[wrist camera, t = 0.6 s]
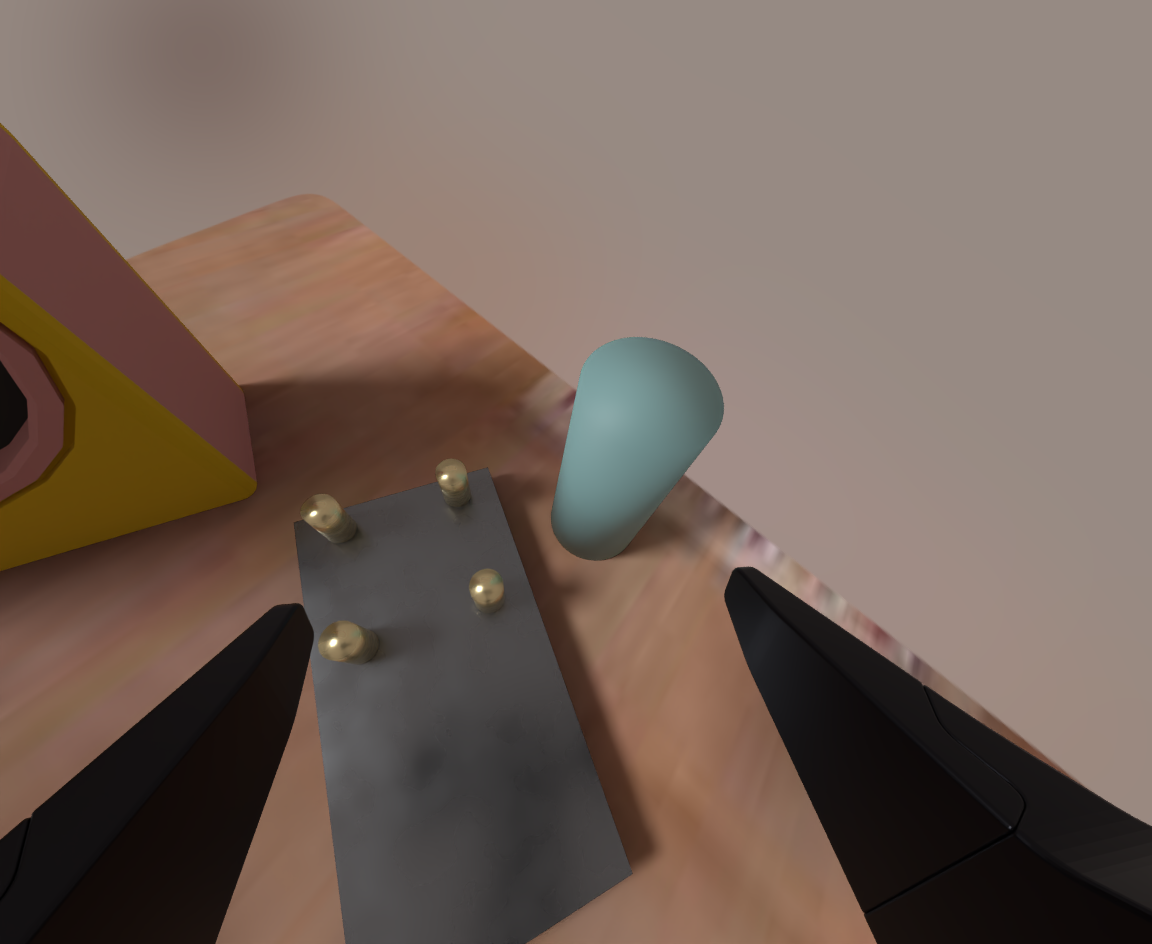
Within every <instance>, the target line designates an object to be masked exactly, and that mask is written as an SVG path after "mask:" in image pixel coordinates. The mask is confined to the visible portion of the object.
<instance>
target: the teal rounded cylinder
mask: <svg viewBox="0 0 1152 944" xmlns="http://www.w3.org/2000/svg"><path fill="white" fill-rule="evenodd" d="M723 413H724V403H723V397H722V393H721V390H720V388H719V385H718V383H717V381H716V380H715V378H714V376H713V375H712V374H711V372H710V371H709V370H708V369H707V368H706V367H705V365H704V364H703V363H702V362H700V361H699V360H698V359H697V358H696V357H694V356H693V355H691V354H690V353H689V352H687V351H685V350H683V349H681V348H680V347H678V346H675V345H673V344H670V343H668V342H665V341H661V340H657V339H652V338H645V337H644V338H643V337H629V338H623V339H618V340H614V341H612V342H609V343H607V344H605V345H603V346H601V347H600V348H598V349H597V350H596V351H594V352H593V353H592V354H591V355H590V356H589V357H588V359H587V360H586V362H585V363H584V365H583V368H582V370H581V374H580V378H579V383H578V388H577V392H576V397H575V401H574V406H573V411H572V416H571V420H570V425H569V430H568V435H567V440H566V444H565V449H564V454H563V459H562V463H561V468H560V473H559V478H558V483H557V487H556V492H555V497H554V502H553V506H552V511H551V524H552V528H553V531H554V534H555V536H556V538H557V539H558V541H559V542H560V543H561V545H562V546H563V547H564V548H565V549H566V550H568V551H569V552H570V553H572V554H574V555H576V556H577V557H580V558H583V559H587V560H594V561H595V560H605V559H609V558H612V557H614V556H616V555H618V554H619V553H621V552H622V551H623V550H624V549H625V548H626V547H627V546H628V545H629V543H630V542H631V541H632V539H633V538H634V537H635V536H636V534H637V533H638V532H639V530H640V529H641V528H642V527H643V525H644V524H645V523H646V522H647V520H648V519H649V518H650V516H651V515H652V514H653V513H654V511H655V510H656V509H657V508H658V506H659V505H660V504H661V502H662V501H663V500H664V499H665V497H666V496H667V495H668V494H669V492H670V491H671V490H672V488H673V487H674V486H675V485H676V483H677V482H678V481H679V479H680V478H681V477H682V476H683V474H684V473H685V472H686V471H687V469H688V468H689V467H690V465H691V464H692V463H693V462H694V460H695V459H696V458H697V456H698V455H699V454H700V453H701V451H702V450H703V449H704V447H705V446H706V445H707V444H708V443H709V441H710V440H711V439H712V437H713V436H714V435H715V433H716V432H717V430H718V429H719V427H720V425H721V422H722V419H723Z"/></svg>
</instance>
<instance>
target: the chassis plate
mask: <svg viewBox="0 0 1152 944" xmlns="http://www.w3.org/2000/svg"><path fill="white" fill-rule="evenodd" d="M435 475H436V478H437V481H438V482H435V483H431V484H428V485H424V486H421V487H417V488H413V489H410V490H406V491H403V492H399V493H396V494H392V495H389V496H385V497H382V498H378V499H375V500H371V501H368V502H364V503H361V504H357V505H354V506H350V507H347V508H342V507H341V506H340V505H339V504H338V502H337V501H336V500H335V499H334V498H333V497H332V496H330V495H327V494H317V495H314V496H312V497H310V498H308V499H307V500H306V501H305V502H304V503H303V505H302V507H301V517H302V518H303V520H301V521H297V522H294V529H295V537H296V545H297V553H298V561H299V569H300V578H301V586H302V594H303V602H304V609H305V612H306V614H307V616H308V618H309V620H310V623H311V625H312V627H313V630H314V642H313V646H312V650H311V655H310V659H311V667H312V675H313V683H314V691H315V699H316V707H317V716H318V724H319V732H320V740H321V748H322V756H323V764H324V772H325V781H326V789H327V797H328V805H329V813H330V821H331V829H332V837H333V846H334V854H335V862H336V870H337V878H338V886H339V894H340V902H341V911H342V919H343V927H344V935H345V943H346V944H526V943H527V942H529V941H530V940H532V939H533V938H535V937H536V936H538V935H539V934H541V933H543V932H544V931H546V930H547V929H549V928H550V927H552V926H553V925H555V924H556V923H558V922H559V921H561V920H562V919H564V918H566V917H567V916H569V915H570V914H572V913H573V912H575V911H576V910H578V909H579V908H581V907H582V906H584V905H585V904H587V903H589V902H590V901H592V900H593V899H595V898H596V897H598V896H599V895H601V894H602V893H604V892H605V891H607V890H609V889H610V888H612V887H613V886H615V885H616V884H618V883H619V882H621V881H622V880H624V879H625V878H627V877H628V876H630V875H632V874H633V873H632V870H631V868H630V865H629V862H628V859H627V856H626V854H625V851H624V848H623V845H622V842H621V840H620V837H619V834H618V831H617V828H616V826H615V823H614V820H613V817H612V814H611V812H610V809H609V806H608V803H607V800H606V797H605V795H604V792H603V789H602V786H601V783H600V781H599V778H598V775H597V772H596V769H595V767H594V764H593V761H592V758H591V755H590V753H589V750H588V747H587V744H586V741H585V739H584V736H583V733H582V730H581V727H580V725H579V722H578V719H577V716H576V713H575V711H574V708H573V705H572V702H571V699H570V697H569V694H568V691H567V688H566V685H565V683H564V680H563V677H562V674H561V671H560V669H559V666H558V663H557V660H556V657H555V655H554V652H553V649H552V646H551V643H550V640H549V638H548V635H547V632H546V629H545V626H544V624H543V621H542V618H541V615H540V612H539V610H538V607H537V604H536V601H535V598H534V596H533V593H532V590H531V587H530V584H529V582H528V579H527V576H526V573H525V570H524V568H523V565H522V562H521V559H520V556H519V554H518V551H517V548H516V545H515V542H514V540H513V537H512V534H511V531H510V528H509V526H508V523H507V520H506V517H505V514H504V512H503V509H502V506H501V503H500V500H499V498H498V495H497V492H496V489H495V486H494V483H493V481H492V478H491V475H490V472H489V469H488V467H487V468H484V469H480V470H477V471H473V472H470V473H467V472H466V467H465V465H464V464H463V463H462V462H461V461H459V460H457V459H447V460H444V461H442V462H441V463H440V464H439V465H438V466H437V468H436V471H435Z"/></svg>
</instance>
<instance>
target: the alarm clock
mask: <svg viewBox="0 0 1152 944" xmlns="http://www.w3.org/2000/svg"><path fill="white" fill-rule="evenodd" d="M256 488H257V478H256V471H255V464H254V458H253V451H252V444H251V437H250V431H249V424H248V417H247V411H246V404H245V397H244V392H243V390H242V389H241V388H240V386H239V385H238V384H237V383H236V382H235V381H234V380H233V379H232V378H231V376H230V375H229V374H228V373H227V372H226V371H225V370H224V369H223V368H222V367H221V365H220V364H219V363H218V362H217V361H216V360H215V359H214V358H213V357H212V355H211V354H210V353H209V352H208V351H207V350H206V349H205V348H204V347H203V345H202V344H201V343H200V342H199V341H198V340H197V339H196V338H195V337H194V335H193V334H192V333H191V332H190V331H189V330H188V329H187V328H186V327H185V325H184V324H183V323H182V322H181V321H180V320H179V319H178V318H177V317H176V316H175V314H174V313H173V312H172V311H171V310H170V309H169V308H168V307H167V306H166V304H165V303H164V302H163V301H162V300H161V299H160V298H159V297H158V296H157V294H156V293H155V292H154V291H153V290H152V289H151V288H150V287H149V286H148V284H147V283H146V282H145V281H144V280H143V279H142V278H141V277H140V276H139V274H138V273H137V272H136V271H135V270H134V269H133V268H132V267H131V266H130V265H129V263H128V262H127V261H126V260H125V259H124V258H123V257H122V256H121V255H120V253H119V252H117V250H116V249H115V248H114V247H113V246H112V245H111V243H110V242H109V241H108V240H107V239H106V238H105V237H104V236H103V235H102V233H101V232H100V231H99V230H98V229H97V228H96V227H95V226H94V225H93V224H92V222H91V221H90V220H89V219H88V218H87V217H86V216H85V215H84V214H83V212H82V211H81V210H80V209H79V208H78V207H77V206H76V205H75V204H74V203H73V201H72V200H71V199H70V198H69V197H68V196H67V195H66V194H65V192H64V191H63V190H62V189H61V188H60V187H59V186H58V185H57V184H56V182H55V181H54V180H53V179H52V178H51V177H50V176H49V175H48V174H47V172H46V171H45V170H44V169H43V168H42V167H41V166H40V165H39V164H38V163H37V161H35V159H34V158H33V157H32V156H31V155H30V154H29V153H28V151H27V150H26V149H24V147H23V146H22V145H21V144H20V143H19V142H18V140H17V139H16V138H15V137H14V136H13V135H12V134H11V133H10V132H9V131H8V130H7V129H6V128H5V127H4V126H3V125H2V124H1V123H0V571H2V570H6V569H9V568H12V567H16V566H19V565H23V564H26V563H29V562H33V561H36V560H40V559H43V558H46V557H50V556H53V555H57V554H60V553H63V552H67V551H70V550H74V549H77V548H80V547H84V546H87V545H90V544H94V543H97V542H101V541H104V540H107V539H111V538H114V537H118V536H121V535H124V534H128V533H131V532H135V531H138V530H141V529H145V528H148V527H152V526H155V525H158V524H162V523H165V522H169V521H172V520H175V519H179V518H182V517H186V516H189V515H192V514H196V513H199V512H203V511H206V510H209V509H213V508H216V507H220V506H223V505H226V504H230V503H233V502H236V501H240V500H243V499H247V498H248V497H249V496H251V495H252V494H253V493H254V491H255V490H256Z"/></svg>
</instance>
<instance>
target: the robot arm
mask: <svg viewBox="0 0 1152 944" xmlns="http://www.w3.org/2000/svg"><path fill="white" fill-rule="evenodd" d="M724 598H725V603H726V606H727V608H728V611H729V614H730V617H731V620H732V623H733V625H734V628H735V631H736V634H737V637H738V640H739V643H740V645H741V648H742V651H743V654H744V657H745V659H746V662H747V664H748V667H749V669H750V671H751V674H752V676H753V678H754V680H755V682H756V685H757V687H758V689H759V691H760V693H761V695H762V697H763V700H764V702H765V704H766V706H767V708H768V710H769V712H770V715H771V717H772V719H773V721H774V723H775V725H776V727H777V730H778V732H779V734H780V736H781V738H782V740H783V742H784V745H785V747H786V749H787V751H788V753H789V755H790V757H791V760H792V762H793V764H794V766H795V768H796V770H797V772H798V775H799V777H800V779H801V781H802V783H803V785H804V787H805V790H806V792H807V794H808V796H809V798H810V800H811V802H812V805H813V807H814V809H815V811H816V813H817V815H818V817H819V819H820V822H821V824H822V826H823V828H824V830H825V832H826V834H827V837H828V839H829V841H830V843H831V845H832V847H833V849H834V852H835V854H836V856H837V858H838V860H839V862H840V864H841V867H842V869H843V871H844V873H845V875H846V877H847V879H848V882H849V884H850V886H851V888H852V890H853V892H854V894H855V897H856V899H857V901H858V903H859V905H860V907H861V909H862V911H863V912H864V917H865V919H866V921H867V923H868V925H869V927H870V929H871V932H872V934H873V936H874V938H875V940H876V942H877V944H1152V826H1150V825H1148V824H1146V823H1144V822H1142V821H1140V820H1139V819H1137V818H1134V817H1133V816H1131V815H1130V814H1128V813H1126V812H1124V811H1123V810H1121V809H1119V808H1117V807H1116V806H1114V805H1113V804H1111V803H1109V802H1108V801H1106V800H1104V799H1103V798H1101V797H1100V796H1098V795H1096V794H1095V793H1093V792H1091V791H1090V790H1088V789H1087V788H1085V787H1083V786H1082V785H1080V784H1078V783H1077V782H1075V781H1074V780H1072V779H1070V778H1069V777H1067V776H1066V775H1064V774H1062V773H1061V772H1059V771H1057V770H1056V769H1054V768H1053V767H1051V766H1049V765H1048V764H1046V763H1044V762H1043V761H1041V760H1040V759H1038V758H1036V757H1035V756H1033V755H1031V754H1030V753H1028V752H1027V751H1025V750H1023V749H1022V748H1020V747H1019V746H1017V745H1015V744H1014V743H1012V742H1011V741H1009V740H1007V739H1006V738H1004V737H1003V736H1001V735H1000V734H998V733H996V732H995V731H993V730H992V729H990V728H988V727H987V726H985V725H984V724H982V723H981V722H979V721H978V720H976V719H975V718H973V717H972V716H970V715H969V714H967V713H966V712H964V711H963V710H961V709H960V708H958V707H957V706H955V705H954V704H952V703H951V702H949V701H948V700H946V699H945V698H943V697H942V696H940V695H939V694H938V693H936V692H935V691H933V690H932V689H930V688H929V687H927V686H925V685H922V683H921V682H920V681H918V680H917V679H916V678H914V677H913V676H911V675H910V674H908V673H907V672H905V671H904V670H902V669H901V668H900V667H898V666H897V665H895V664H894V663H892V662H891V661H889V660H888V659H886V658H885V657H884V656H882V655H881V654H879V653H878V652H876V651H875V650H873V649H872V648H870V647H869V646H868V645H866V644H865V643H863V642H862V641H860V640H859V639H857V638H856V637H854V636H853V635H852V634H850V633H849V632H847V631H846V630H844V629H843V628H841V627H840V626H838V625H837V624H836V623H834V622H833V621H831V620H830V619H828V618H827V617H825V616H824V615H822V614H821V613H820V612H818V611H817V610H815V609H814V608H812V607H811V606H809V605H808V604H806V603H805V602H804V601H802V600H801V599H799V598H798V597H796V596H795V595H793V594H792V593H790V592H789V591H788V590H786V589H785V588H783V587H782V586H780V585H779V584H777V583H776V582H774V581H773V580H772V579H770V578H769V577H767V576H766V575H764V574H763V573H761V572H760V571H759V570H757V569H755V568H753V567H738V568H735V569H734V570H733V571H732V574H731V576H730V579H729V581H728V584H727V587H726V589H725V594H724ZM313 642H314V630H313V627H312V625H311V623H310V620H309V618H308V616H307V614H306V612H305V609H304V608H303V606H302V605H301V604H299V603H293V604H281V605H277V606H274V607H273V608H271V609H270V610H269V611H268V612H266V613H265V614H264V615H263V616H262V617H261V618H259V619H258V620H257V621H256V622H255V623H254V624H252V625H251V626H250V627H249V628H248V629H247V630H245V631H244V632H243V633H242V634H241V635H240V636H238V637H237V638H236V639H235V640H234V641H232V642H231V643H230V644H229V645H228V646H227V647H225V648H224V649H223V650H222V651H221V652H220V653H218V654H217V655H216V656H215V657H214V658H213V659H211V660H210V661H209V662H208V663H207V664H206V665H204V666H203V667H202V668H201V669H200V670H199V671H197V672H196V673H195V674H194V675H193V676H192V677H190V678H189V679H188V680H187V681H186V682H185V683H183V684H182V685H181V686H180V687H179V688H178V689H176V690H175V691H174V692H173V693H172V694H170V695H169V696H168V697H167V698H166V699H165V700H163V701H162V702H161V703H160V704H159V705H158V706H156V707H155V708H154V709H153V710H152V711H151V712H149V713H148V714H147V715H146V716H145V717H144V718H142V719H141V720H140V721H139V722H138V723H137V724H135V725H134V726H133V727H132V728H131V729H130V730H128V731H127V732H126V733H125V734H124V735H123V736H121V737H120V738H119V739H118V740H117V741H116V742H114V743H113V744H112V745H111V746H110V747H108V748H107V749H106V750H105V751H104V752H103V753H101V754H100V755H99V756H98V757H97V758H96V759H94V760H93V761H92V762H91V763H90V764H89V765H87V766H86V767H85V768H84V769H83V770H82V771H80V772H79V773H78V774H77V775H76V776H75V777H73V778H72V779H71V780H70V781H69V782H68V783H66V784H65V785H64V786H63V787H62V788H61V789H59V790H58V791H57V792H56V793H55V794H54V795H52V796H51V797H50V798H49V799H48V800H46V801H45V802H44V803H43V804H42V805H41V806H39V807H38V808H37V809H36V810H35V811H34V812H33V813H32V816H31V818H26V819H24V820H23V821H22V822H20V823H19V824H18V825H17V826H16V827H15V828H13V829H12V830H11V831H10V832H9V833H8V834H6V835H5V836H4V837H3V838H2V839H1V840H0V944H215V943H216V940H217V937H218V934H219V932H220V929H221V926H222V923H223V920H224V918H225V915H226V912H227V909H228V906H229V904H230V901H231V898H232V895H233V892H234V890H235V887H236V884H237V881H238V878H239V876H240V873H241V870H242V867H243V864H244V862H245V859H246V856H247V853H248V850H249V848H250V845H251V842H252V839H253V836H254V834H255V831H256V828H257V825H258V822H259V820H260V817H261V814H262V811H263V808H264V806H265V803H266V800H267V797H268V794H269V792H270V789H271V786H272V783H273V780H274V778H275V775H276V772H277V769H278V766H279V764H280V761H281V758H282V755H283V752H284V750H285V747H286V744H287V741H288V739H289V736H290V733H291V729H292V726H293V723H294V720H295V716H296V712H297V708H298V704H299V700H300V696H301V692H302V688H303V684H304V679H305V675H306V671H307V667H308V663H309V659H310V655H311V650H312V646H313Z"/></svg>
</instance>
